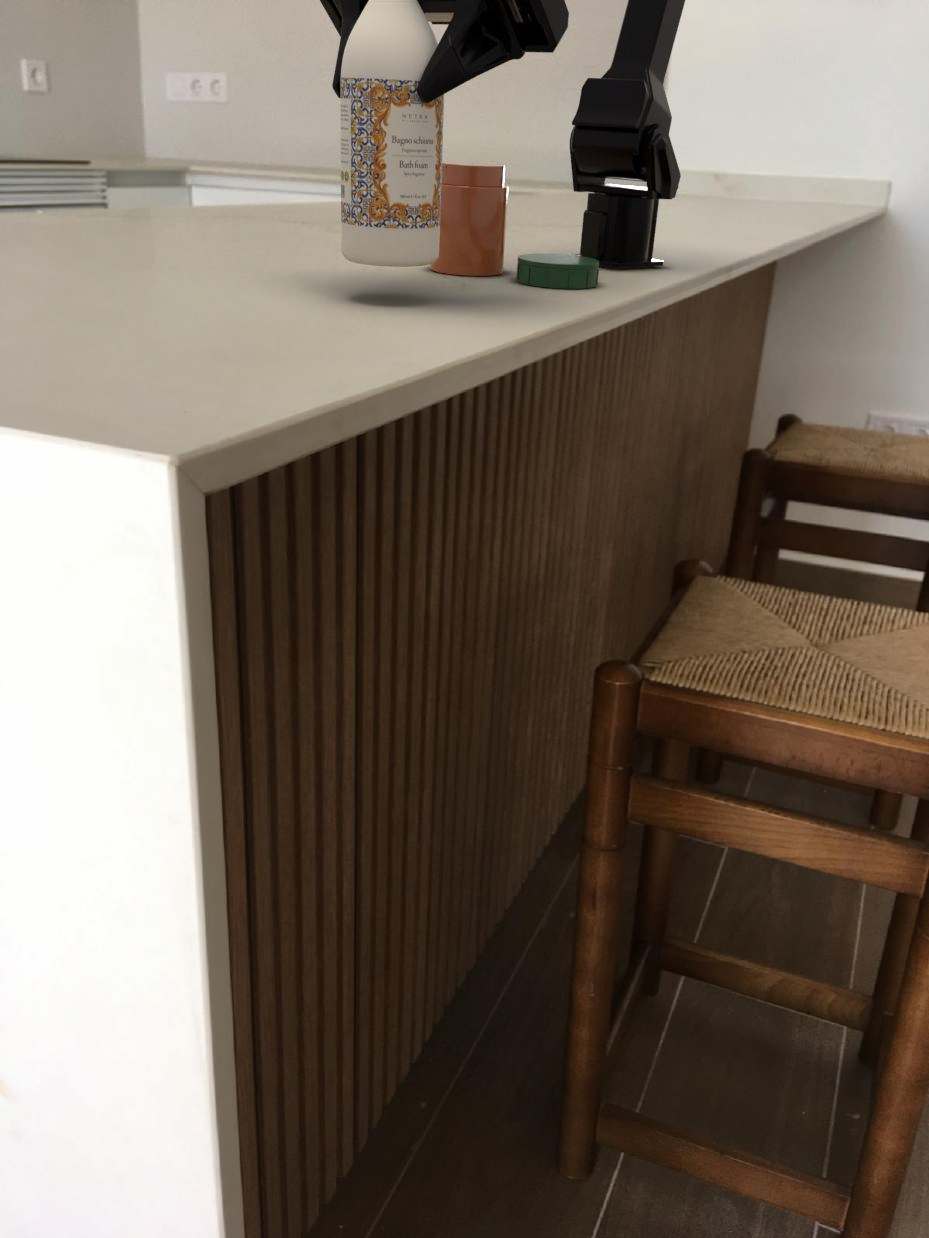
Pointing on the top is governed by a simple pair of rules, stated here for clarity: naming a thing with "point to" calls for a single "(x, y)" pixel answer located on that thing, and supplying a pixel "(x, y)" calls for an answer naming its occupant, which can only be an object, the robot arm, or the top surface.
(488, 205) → the jar
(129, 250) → the top surface
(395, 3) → the bath foam
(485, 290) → the top surface
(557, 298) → the top surface
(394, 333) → the top surface
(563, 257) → the lid
